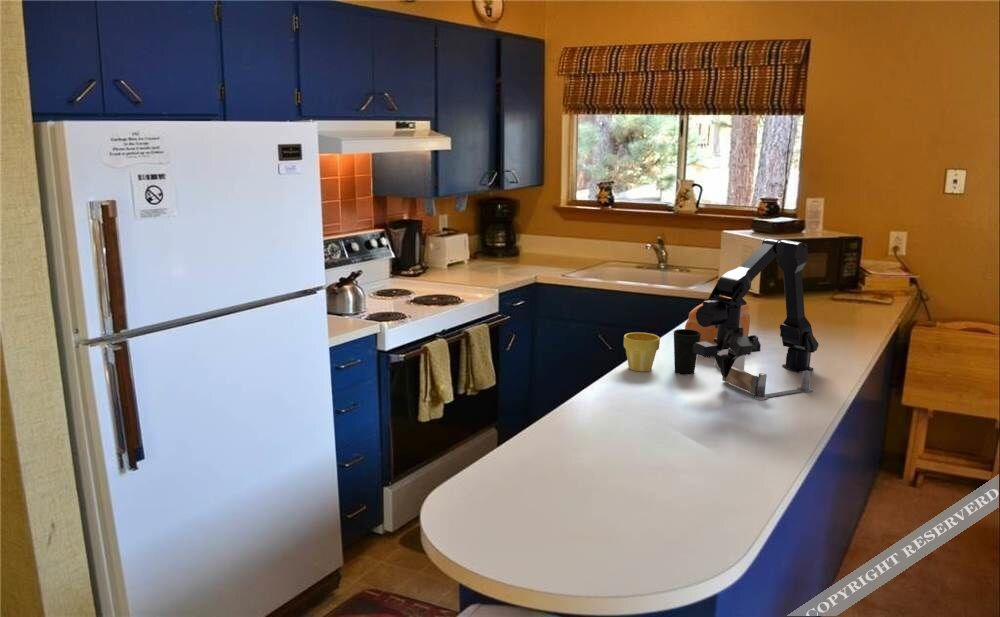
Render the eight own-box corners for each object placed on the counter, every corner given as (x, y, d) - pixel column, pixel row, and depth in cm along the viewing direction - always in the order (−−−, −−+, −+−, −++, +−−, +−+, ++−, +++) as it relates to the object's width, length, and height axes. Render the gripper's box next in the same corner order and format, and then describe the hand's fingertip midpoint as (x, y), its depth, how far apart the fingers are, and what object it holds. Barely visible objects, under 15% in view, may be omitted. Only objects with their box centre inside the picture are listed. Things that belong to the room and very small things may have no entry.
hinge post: (760, 394, 220) (763, 371, 219) (770, 399, 217) (772, 375, 216) (750, 396, 219) (752, 373, 217) (759, 400, 216) (762, 377, 214)
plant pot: (636, 361, 249) (638, 330, 246) (664, 368, 242) (666, 336, 239) (615, 367, 242) (616, 335, 239) (643, 376, 234) (646, 343, 232)
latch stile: (804, 387, 227) (806, 369, 225) (813, 391, 224) (815, 372, 223) (796, 389, 225) (798, 370, 224) (804, 392, 223) (806, 373, 221)
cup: (698, 377, 234) (701, 336, 232) (670, 375, 236) (673, 334, 233) (697, 369, 242) (700, 330, 239) (671, 367, 243) (673, 328, 240)
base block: (730, 364, 248) (732, 348, 247) (744, 370, 242) (746, 353, 241) (713, 366, 245) (714, 350, 244) (727, 372, 240) (728, 356, 239)
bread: (679, 352, 260) (683, 303, 256) (710, 335, 280) (714, 290, 277) (721, 360, 252) (726, 310, 248) (750, 342, 273) (754, 295, 269)
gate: (759, 393, 219) (760, 377, 218) (754, 394, 219) (756, 378, 218) (726, 379, 231) (727, 364, 230) (722, 380, 230) (723, 364, 229)
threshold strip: (796, 390, 225) (797, 389, 225) (802, 392, 223) (802, 391, 223) (762, 395, 220) (762, 394, 219) (767, 398, 218) (767, 397, 218)
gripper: (719, 332, 211) (714, 389, 215) (776, 326, 218) (771, 381, 222) (693, 322, 221) (689, 377, 225) (749, 316, 228) (744, 370, 232)
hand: (724, 376), depth 226 cm, fingers closed
